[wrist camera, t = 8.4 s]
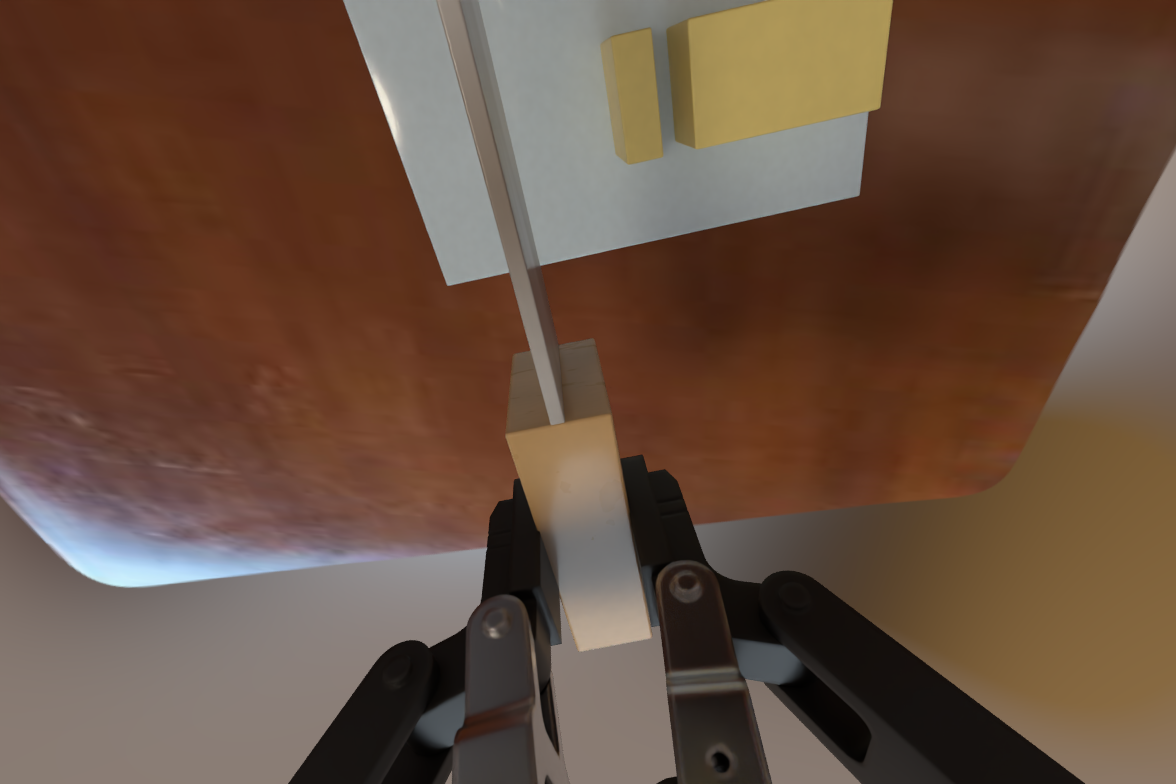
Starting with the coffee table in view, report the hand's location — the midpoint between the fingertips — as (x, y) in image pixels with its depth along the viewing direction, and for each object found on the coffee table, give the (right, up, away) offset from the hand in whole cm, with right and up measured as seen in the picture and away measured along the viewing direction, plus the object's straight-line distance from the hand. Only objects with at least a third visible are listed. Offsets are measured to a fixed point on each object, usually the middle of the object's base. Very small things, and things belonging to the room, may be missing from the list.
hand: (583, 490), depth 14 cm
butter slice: (+2, +15, +6) cm, 16 cm away
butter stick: (+7, +16, +6) cm, 18 cm away
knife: (-1, +4, -1) cm, 5 cm away
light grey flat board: (+2, +15, +7) cm, 17 cm away
